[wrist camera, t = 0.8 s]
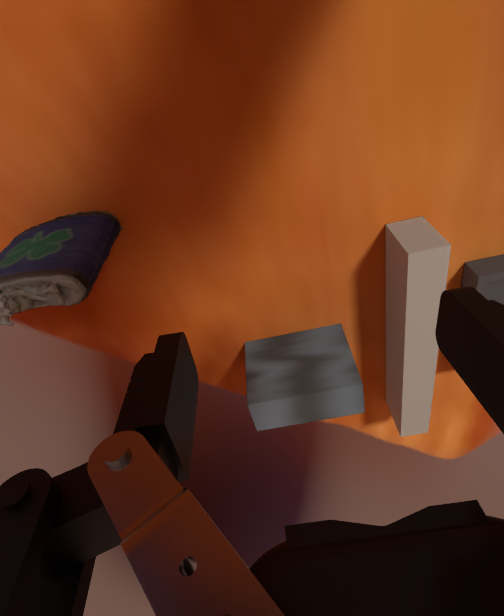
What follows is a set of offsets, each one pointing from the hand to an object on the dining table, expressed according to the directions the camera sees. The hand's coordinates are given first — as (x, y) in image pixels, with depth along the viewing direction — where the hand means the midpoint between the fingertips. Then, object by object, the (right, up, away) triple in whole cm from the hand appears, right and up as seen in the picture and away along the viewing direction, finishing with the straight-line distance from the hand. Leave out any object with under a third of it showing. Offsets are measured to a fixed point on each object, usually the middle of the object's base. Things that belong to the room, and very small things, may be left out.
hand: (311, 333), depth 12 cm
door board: (+13, -1, +26) cm, 29 cm away
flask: (-17, +7, +18) cm, 26 cm away
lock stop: (+3, -3, +27) cm, 28 cm away
